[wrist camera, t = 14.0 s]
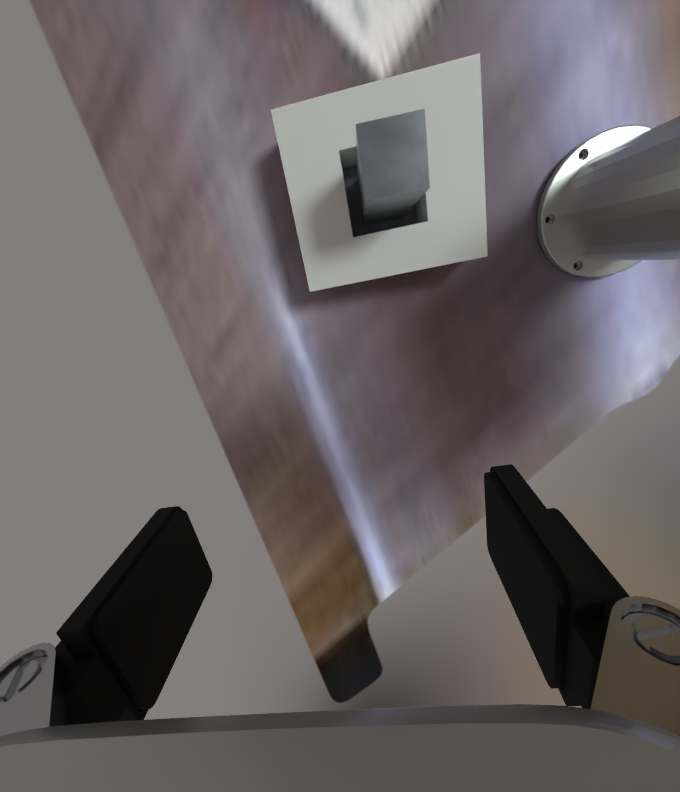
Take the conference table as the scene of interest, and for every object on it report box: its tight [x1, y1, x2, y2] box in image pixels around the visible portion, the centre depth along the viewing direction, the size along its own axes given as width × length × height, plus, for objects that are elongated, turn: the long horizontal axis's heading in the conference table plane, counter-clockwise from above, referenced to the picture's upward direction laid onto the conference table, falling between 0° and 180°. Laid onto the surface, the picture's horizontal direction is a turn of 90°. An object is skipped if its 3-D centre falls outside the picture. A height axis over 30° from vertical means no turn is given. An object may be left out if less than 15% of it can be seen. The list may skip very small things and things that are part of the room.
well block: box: [271, 53, 488, 292], centre depth 31 cm, size 16×14×6 cm
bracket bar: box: [356, 109, 430, 225], centre depth 27 cm, size 4×4×14 cm
